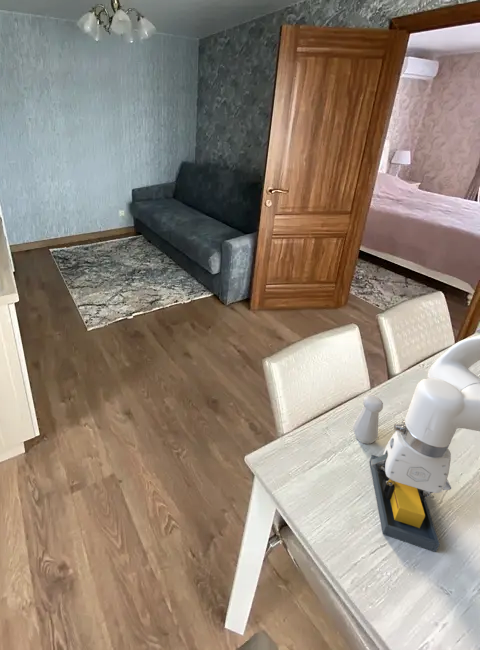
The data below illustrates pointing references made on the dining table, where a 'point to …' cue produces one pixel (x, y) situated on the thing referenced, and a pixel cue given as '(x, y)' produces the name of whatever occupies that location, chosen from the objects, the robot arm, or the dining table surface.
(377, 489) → the tray
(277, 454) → the dining table surface
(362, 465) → the dining table surface
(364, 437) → the salt shaker
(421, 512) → the block
